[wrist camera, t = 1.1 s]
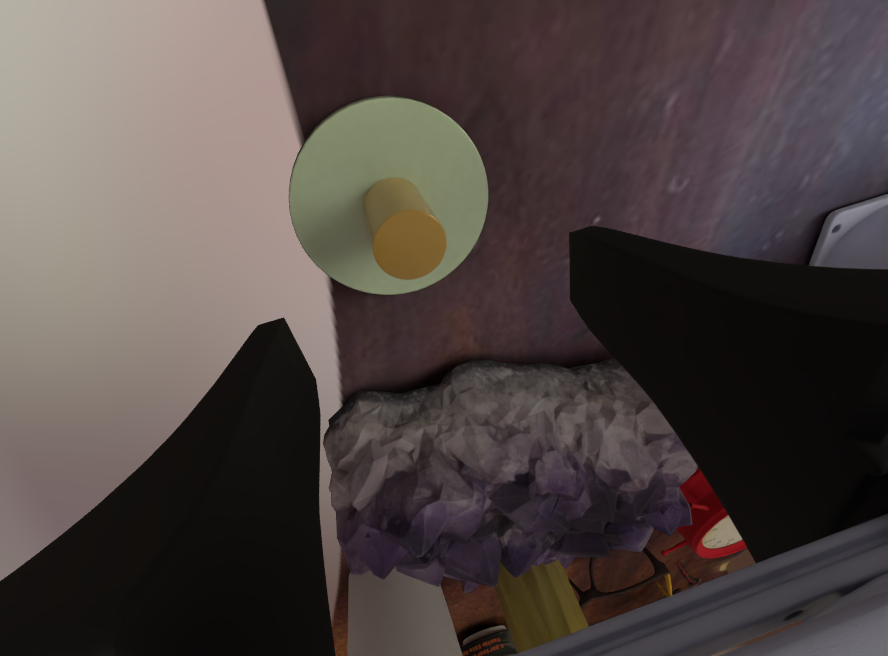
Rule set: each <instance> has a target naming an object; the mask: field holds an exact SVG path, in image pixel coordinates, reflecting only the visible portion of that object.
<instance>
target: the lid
mask: <svg viewBox="0 0 888 656" xmlns="http://www.w3.org/2000/svg"><path fill="white" fill-rule="evenodd" d="M487 207H488V182H487V177H486V171H485V168H484V165H483V162H482V159H481V156H480V154H479V152H478V150H477V148H476V146H475V145H474V143H473V142H472V140H471V139H470V137H469V136H468V134H467V133H466V132H465V131H464V130H463V129H462V128H461V127H460V126H459V125H458V124H457V123H456V122H455V121H454V120H452V119H451V118H450V117H449V116H448V115H446V114H445V113H443V112H441V111H440V110H438V109H436V108H435V107H433V106H431V105H428V104H426V103H424V102H422V101H418V100H415V99H411V98H407V97H399V96H376V97H371V98H365V99H362V100H359V101H356V102H353V103H350V104H348V105H346V106H344V107H342V108H340V109H338V110H336V111H335V112H333V113H332V114H331V115H329V116H328V117H326V118H325V119H324V120H323V121H322V122H321V123H320V124H319V125H318V126H317V127H316V128H315V129H314V130H313V131H312V132H311V134H310V135H309V136H308V138H307V139H306V140H305V142H304V144H303V145H302V147H301V149H300V151H299V153H298V155H297V158H296V160H295V163H294V166H293V170H292V174H291V179H290V188H289V208H290V215H291V219H292V224H293V227H294V230H295V232H296V235H297V237H298V239H299V241H300V243H301V245H302V247H303V249H304V250H305V251H306V253H307V254H308V256H309V257H310V258H311V259H312V261H313V262H314V263H315V264H316V265H317V266H318V267H319V268H320V269H321V270H322V271H324V272H325V273H326V274H327V275H328V276H330V277H331V278H333V279H335V280H336V281H338V282H339V283H342V284H344V285H346V286H348V287H350V288H353V289H356V290H358V291H362V292H367V293H371V294H381V295H395V294H403V293H408V292H412V291H417V290H419V289H422V288H425V287H427V286H429V285H431V284H434V283H436V282H437V281H439V280H441V279H442V278H444V277H445V276H447V275H448V274H449V273H451V272H452V271H453V270H454V269H455V268H456V267H457V266H458V265H459V264H460V263H461V262H462V261H463V260H464V259H465V258H466V257H467V255H468V254H469V253H470V251H471V250H472V248H473V247H474V245H475V243H476V242H477V240H478V237H479V235H480V233H481V231H482V228H483V225H484V222H485V218H486V213H487Z"/></svg>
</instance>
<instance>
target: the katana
mask: <svg viewBox="0 0 888 656" xmlns="http://www.w3.org/2000/svg"><path fill="white" fill-rule="evenodd" d="M677 564H678V567H679V569H680V570H681V572H682V574H683V575H684V576H685V577H686V579H687V580H688V581H689V582H691V583H689V584H688V586H690V587H695V586H698V585H701V584H699V583H700V582H701V578H698V579H694V578H692V577H691V576H690V575H689V574H688V573H687V572H686V570H685V569H684V567H683V566H682V564H681V562H680V559H679V560H678V562H677Z"/></svg>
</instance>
